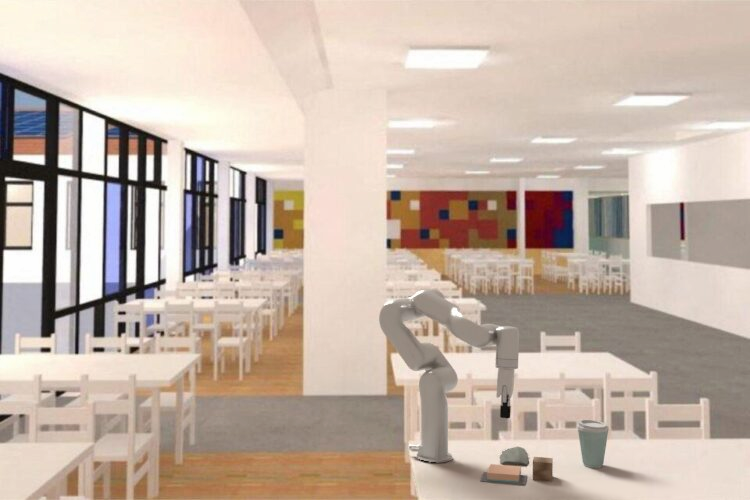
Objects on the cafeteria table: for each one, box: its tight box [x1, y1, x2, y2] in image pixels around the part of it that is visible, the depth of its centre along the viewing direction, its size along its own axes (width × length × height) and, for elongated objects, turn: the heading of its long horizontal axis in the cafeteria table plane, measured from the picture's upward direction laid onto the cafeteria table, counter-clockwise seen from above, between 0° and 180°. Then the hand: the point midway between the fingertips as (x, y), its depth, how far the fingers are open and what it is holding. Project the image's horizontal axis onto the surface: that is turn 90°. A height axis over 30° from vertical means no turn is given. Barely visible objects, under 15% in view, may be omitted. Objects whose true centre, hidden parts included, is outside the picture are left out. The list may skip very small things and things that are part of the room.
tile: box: [486, 463, 522, 483], centre depth 237 cm, size 10×2×10 cm
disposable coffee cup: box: [576, 418, 610, 469], centre depth 251 cm, size 11×11×15 cm
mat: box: [480, 471, 528, 486], centre depth 236 cm, size 14×10×1 cm
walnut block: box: [532, 456, 554, 483], centre depth 237 cm, size 6×6×6 cm
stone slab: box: [499, 446, 530, 467], centre depth 262 cm, size 22×3×10 cm
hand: (505, 417), depth 246 cm, fingers closed
